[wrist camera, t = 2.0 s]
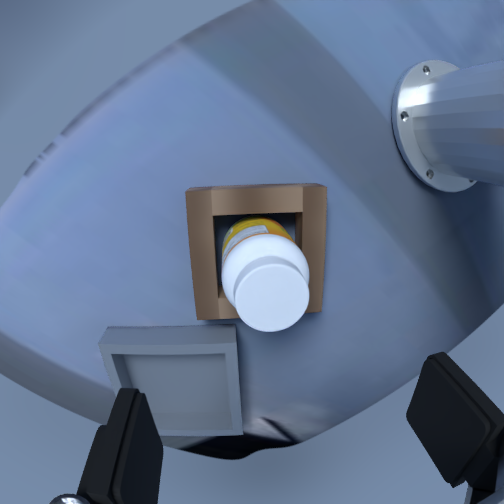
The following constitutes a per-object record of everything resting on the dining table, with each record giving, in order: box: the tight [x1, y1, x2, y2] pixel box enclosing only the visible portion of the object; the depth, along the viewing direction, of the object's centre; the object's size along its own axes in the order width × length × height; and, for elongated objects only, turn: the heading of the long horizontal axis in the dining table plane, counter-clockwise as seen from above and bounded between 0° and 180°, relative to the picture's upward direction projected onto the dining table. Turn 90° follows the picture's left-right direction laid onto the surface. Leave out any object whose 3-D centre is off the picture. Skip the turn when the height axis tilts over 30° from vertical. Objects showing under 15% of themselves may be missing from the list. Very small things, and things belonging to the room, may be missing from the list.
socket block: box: [185, 184, 327, 320], centre depth 24 cm, size 10×10×2 cm
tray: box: [98, 324, 243, 436], centre depth 27 cm, size 12×12×3 cm
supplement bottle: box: [222, 215, 309, 332], centre depth 21 cm, size 5×5×10 cm
